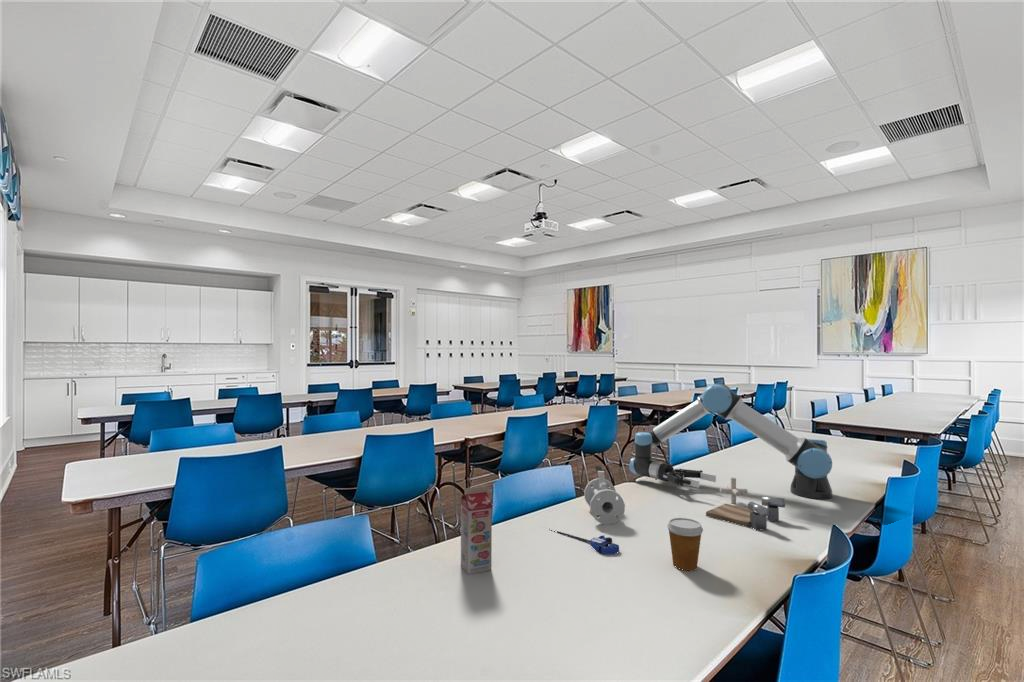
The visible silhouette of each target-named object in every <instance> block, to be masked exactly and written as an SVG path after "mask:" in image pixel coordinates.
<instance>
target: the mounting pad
mask: <svg viewBox="0 0 1024 682" xmlns="http://www.w3.org/2000/svg"><path fill="white" fill-rule="evenodd" d="M750 512H753V511H751V510H749V509H748V508H745V507H742V506H737V505H735V504H731V503H724V504H721V505H718V506H716V507H714V508H712V509H709V510H706V512H705V516H706V517H708V516H709V518H712V517H713V518H712V519H717V520H719V519H720V521H723V520H725V521H724V522H727V521H729V522H728V523H731V522H733V523H732V524H734V523H736V524H735V525H738V524H740V525H739V526H742V525H744V526H743V527H745V526H749V527H750Z"/></svg>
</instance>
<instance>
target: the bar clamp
mask: <svg viewBox="0 0 1024 682" xmlns="http://www.w3.org/2000/svg"><path fill="white" fill-rule="evenodd" d="M552 530H553V529H552ZM552 530H551V532H553V531H552ZM555 531H557V534H559V533H560V535H562V534H563V536H566V535H567V536H566V537H569V536H570V537H569V538H572V539H577V540H579V541H580V540H581V541H583V542H587V543H590V544H589V545H591V546H592V547H593V548H594V549H595V550H596V551H597V553H598V552H599V553H598V554H601V555H616V554H615V553H617V552H618V553H620V546H619V545H620V544H617V543H612V542H613V537H610V536H608V537H605V535H600V536H598V537H592V538H591V539H587V538H582V537H579V536H577V535H573V534H568V533H565V532H562V531H559V530H555ZM555 531H554V532H553V533H556V532H555ZM591 546H590V547H591ZM592 547H591V548H592ZM593 548H592V549H593ZM594 549H593V550H594ZM595 550H594V551H595ZM596 551H595V552H596ZM618 553H617V554H618Z"/></svg>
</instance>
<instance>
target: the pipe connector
mask: <svg viewBox="0 0 1024 682" xmlns="http://www.w3.org/2000/svg"><path fill="white" fill-rule="evenodd" d="M719 492H720V494H721V493H722V494H723V493H725V494H726V493H727V494H730V504H731V505H736V504H737V497H740V496H741V494H748V489H747V488H740V487H739V488H737V478H736V476H735V477H734V476H732V477H730V484H728V485H727V486H726V487H720V488H719Z"/></svg>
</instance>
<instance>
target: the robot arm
mask: <svg viewBox="0 0 1024 682" xmlns="http://www.w3.org/2000/svg"><path fill="white" fill-rule="evenodd" d="M708 414H710V415H712V414H717V416H719V417H721V418H722V419H724V420H726V421H727V420H731V421H733V422H735V423H736V424H738V425H739V426H740V427H742V428H743V429H745V430H747V431H748V432H750V433H751V434H753V435H754V436H756V437H757V438H759V439H761V440H762V441H763V442H765V444H768V445H769V446H771V447H772V448H774V449H775V450H777V451H778V452H780V453H782V455H784V456H785V460H786V462H788V463H790V464H791V465H792V466H794V476H793V478H792V481H791V483H790V493H792V494H793V493H795V494H794V495H796V494H797V496H799V495H801V496H800V497H803V496H805V497H804V498H808V497H810V498H809V499H816V498H819V499H820V500H824V499H825V498H826V500H827V499H832V498H833V489H832V487H831V485H830V481H829V479H828V475H829V474H830V473H831V471H832V468H833V460H832V458H831V456H830V454H829V453H828V445H827V443H828V442H827V441H826V440H823V439H813V438H806V437H797V436H795V435H794V434H792V433H791V432H789V431H788V430H786V429H785V428H783V427H782V426H780V425H779V424H777V423H775V422H774V421H772V420H771V419H769V418H767V417H766V416H764V415H763V414H761V413H760V412H758V411H757V410H755V409H753V408H752V407H750V406H749V405H748V404H746V403H744V400H743V397H741V396H740V395H738V394H737V393H735V392H734V391H732V389H731V388H730V387H729V386H728V385H726V384H724V383H721V382H718V383H717V382H716V383H711V385H708V386H706V388H704V391H703V392H702V393H701V394H700V395H698V396H697V399H696V400H695V401H692V403H690V404H688V405H687V406H686V407H684V408H683V409H681V410H680V411H678V412H676V413H674V414H673V415H672V416H670V417H668V419H667V418H666V420H664V421H663V422H661V423H659V424H658V425H657V426H655V427H653V428H651V429H650V430H649V431H648V432H645V431H644V432H643V431H641V432H640V431H638V432H636V433H635V435H634V437H635V438H634V457H632V458H631V459H630V460H629V464H628V465H629V466H628V468H629V471H630V473H632V474H635V475H637V476H641V477H647V478H651V479H655V481H657V480H659V481H664V482H670V483H673V484H675V485H678V486H680V487H683V486H684V485H685V486H689V487H694V488H697V489H698V488H700V480H705V481H707V482H713V483H717V475H716V474H711V473H707V472H703V470H701V469H700V470H695V469H694V470H693V469H684V468H679V469H678V468H674V466H673V465H672V464H671V463H670V464H669V463H666V462H665V463H664V462H662V461H661V462H660V461H654V460H652V459H653V450H654V449H655V448H656V447H657V446H660V445H661V444H662V443H663V442H666V441H667V440H668V439H670V438H671V437H673V436H674V435H677V434H678V433H680V432H681V431H683V430H684V429H685V428H687V427H689V426H690V425H692V424H693V423H695V422H696V421H699V420H700V419H701V418H703V417H704V416H706V415H708ZM697 479H700V480H697ZM819 499H818V500H819Z"/></svg>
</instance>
